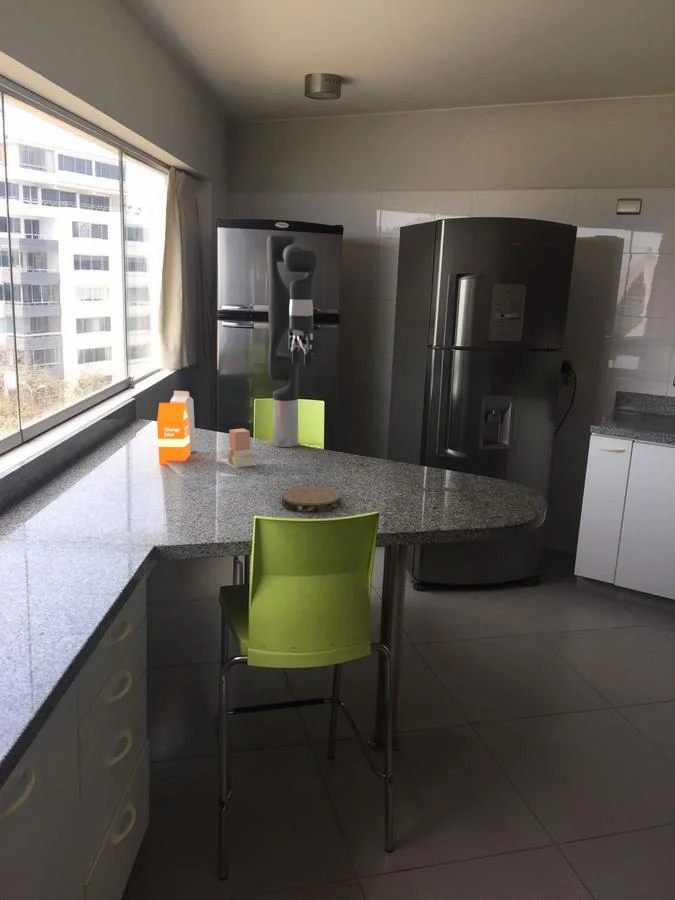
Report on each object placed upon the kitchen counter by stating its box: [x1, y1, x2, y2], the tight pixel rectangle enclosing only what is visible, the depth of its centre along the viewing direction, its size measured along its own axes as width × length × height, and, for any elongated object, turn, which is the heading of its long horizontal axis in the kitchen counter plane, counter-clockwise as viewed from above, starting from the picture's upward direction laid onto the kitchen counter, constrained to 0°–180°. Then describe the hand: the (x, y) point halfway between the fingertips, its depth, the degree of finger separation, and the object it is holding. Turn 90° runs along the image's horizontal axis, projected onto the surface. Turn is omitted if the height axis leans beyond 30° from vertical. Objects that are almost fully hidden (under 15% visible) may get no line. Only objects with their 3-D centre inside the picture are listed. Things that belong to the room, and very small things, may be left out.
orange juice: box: [156, 402, 191, 465], centre depth 240 cm, size 8×9×20 cm
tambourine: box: [281, 486, 341, 514], centre depth 196 cm, size 16×16×3 cm
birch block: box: [227, 447, 254, 468], centre depth 234 cm, size 6×6×5 cm
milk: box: [169, 390, 196, 454], centre depth 252 cm, size 6×6×22 cm
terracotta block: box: [228, 428, 251, 451], centre depth 232 cm, size 5×5×6 cm
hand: (301, 364), depth 232 cm, fingers open, 8 cm apart
